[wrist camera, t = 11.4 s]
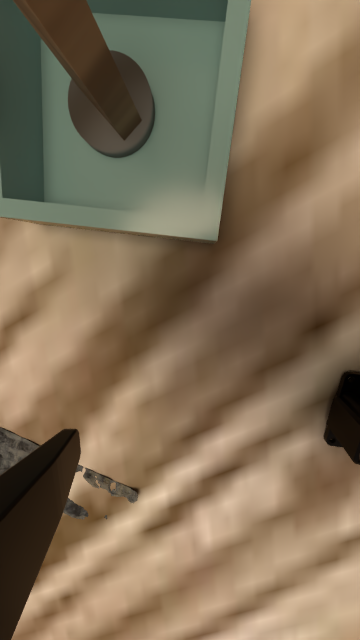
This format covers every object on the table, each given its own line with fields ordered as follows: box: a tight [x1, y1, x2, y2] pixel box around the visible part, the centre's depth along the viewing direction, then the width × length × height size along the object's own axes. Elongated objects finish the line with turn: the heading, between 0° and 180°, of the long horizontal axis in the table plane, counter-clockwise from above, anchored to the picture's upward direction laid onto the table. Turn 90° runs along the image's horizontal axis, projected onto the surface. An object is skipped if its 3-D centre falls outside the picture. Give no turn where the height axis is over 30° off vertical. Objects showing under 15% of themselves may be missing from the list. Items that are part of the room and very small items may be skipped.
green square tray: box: [0, 0, 251, 244], centre depth 15 cm, size 13×13×5 cm
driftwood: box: [0, 428, 138, 519], centre depth 25 cm, size 21×7×2 cm, turn 63°
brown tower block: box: [13, 0, 155, 158], centre depth 10 cm, size 5×5×13 cm
